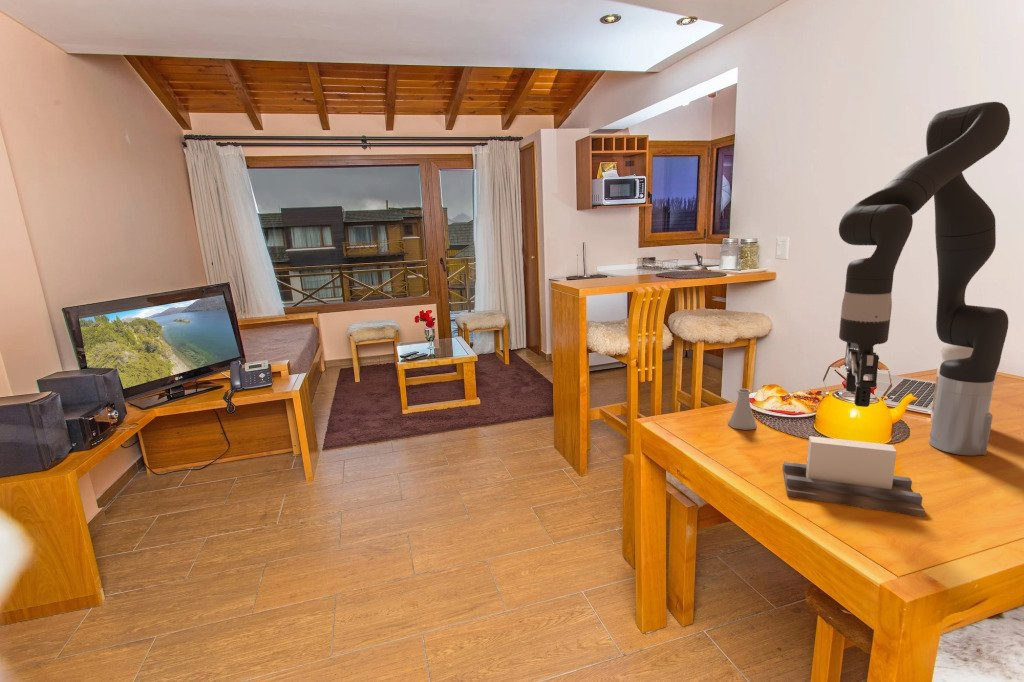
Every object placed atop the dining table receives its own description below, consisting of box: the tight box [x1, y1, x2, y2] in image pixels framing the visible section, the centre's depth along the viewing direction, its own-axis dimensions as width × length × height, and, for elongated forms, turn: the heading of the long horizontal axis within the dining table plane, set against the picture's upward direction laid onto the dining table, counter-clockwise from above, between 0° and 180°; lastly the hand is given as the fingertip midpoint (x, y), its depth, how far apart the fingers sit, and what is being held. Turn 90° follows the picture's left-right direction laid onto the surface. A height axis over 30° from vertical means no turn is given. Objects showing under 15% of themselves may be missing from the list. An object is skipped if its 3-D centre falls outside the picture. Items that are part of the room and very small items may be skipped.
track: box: [782, 461, 926, 518], centre depth 99 cm, size 22×12×3 cm, turn 66°
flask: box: [727, 388, 757, 431], centre depth 132 cm, size 7×7×10 cm
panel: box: [806, 435, 898, 489], centre depth 99 cm, size 14×3×9 cm, turn 66°
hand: (856, 398), depth 95 cm, fingers open, 8 cm apart
